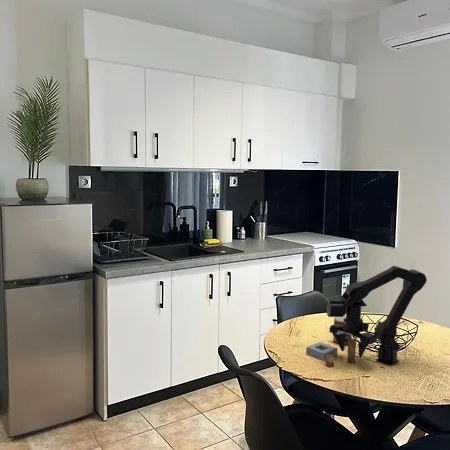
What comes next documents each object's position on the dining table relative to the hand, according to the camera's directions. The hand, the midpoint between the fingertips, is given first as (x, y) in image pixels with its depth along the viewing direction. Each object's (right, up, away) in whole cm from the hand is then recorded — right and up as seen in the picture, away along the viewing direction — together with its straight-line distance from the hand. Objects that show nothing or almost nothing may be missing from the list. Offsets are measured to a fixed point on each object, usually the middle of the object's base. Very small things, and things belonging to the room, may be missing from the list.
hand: (351, 354), depth 189 cm
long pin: (0, -3, 0) cm, 3 cm away
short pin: (-10, -4, -4) cm, 11 cm away
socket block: (-11, -2, +7) cm, 13 cm away
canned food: (+2, -1, +21) cm, 21 cm away
